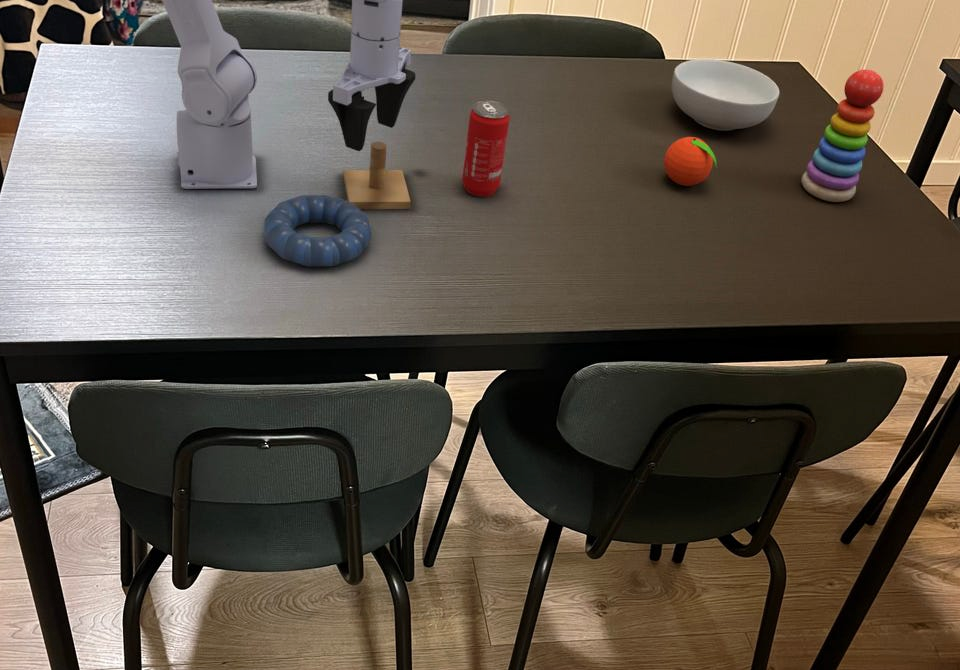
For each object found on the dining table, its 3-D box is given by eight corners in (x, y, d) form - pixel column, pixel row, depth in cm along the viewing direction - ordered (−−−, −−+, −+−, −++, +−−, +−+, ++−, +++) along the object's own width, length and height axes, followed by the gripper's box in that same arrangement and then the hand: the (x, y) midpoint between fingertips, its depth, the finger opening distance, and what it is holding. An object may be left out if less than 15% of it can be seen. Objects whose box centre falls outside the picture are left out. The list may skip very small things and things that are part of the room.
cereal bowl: (780, 120, 160) (794, 81, 156) (745, 156, 149) (759, 114, 144) (688, 86, 166) (698, 48, 162) (647, 118, 155) (658, 77, 150)
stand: (348, 209, 124) (350, 160, 120) (343, 177, 130) (344, 129, 126) (410, 209, 126) (413, 161, 121) (401, 177, 132) (405, 130, 127)
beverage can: (471, 201, 129) (482, 120, 122) (455, 181, 133) (464, 102, 125) (505, 195, 131) (517, 115, 124) (488, 176, 135) (499, 97, 127)
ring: (266, 273, 112) (265, 249, 110) (263, 213, 121) (262, 190, 119) (375, 270, 115) (376, 247, 113) (364, 212, 124) (365, 189, 122)
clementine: (721, 188, 140) (734, 145, 135) (694, 203, 136) (708, 159, 131) (676, 165, 144) (688, 122, 139) (649, 179, 140) (661, 135, 135)
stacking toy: (856, 187, 145) (905, 71, 133) (848, 210, 139) (899, 91, 127) (805, 171, 147) (848, 55, 135) (795, 193, 141) (839, 74, 130)
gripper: (372, 61, 105) (366, 169, 114) (435, 22, 115) (426, 124, 124) (318, 43, 107) (317, 150, 116) (385, 6, 117) (379, 107, 126)
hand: (370, 136), depth 120 cm, fingers open, 7 cm apart
